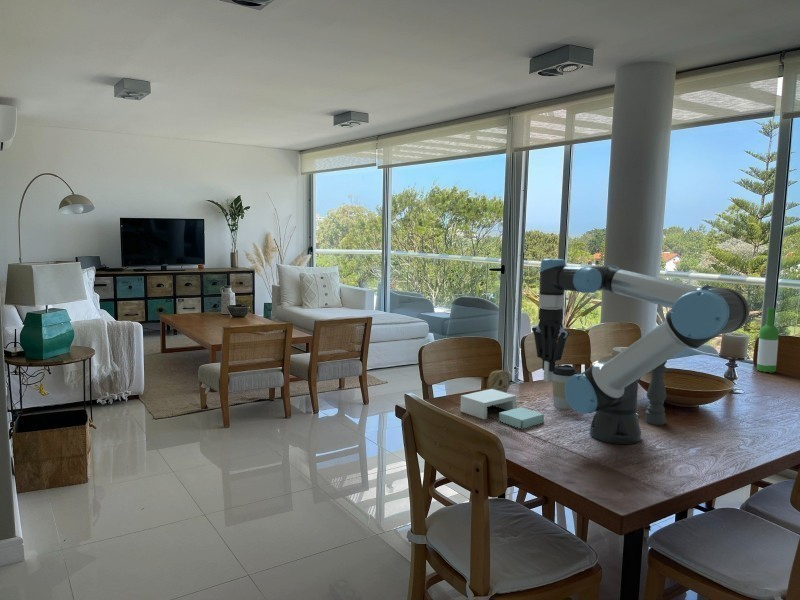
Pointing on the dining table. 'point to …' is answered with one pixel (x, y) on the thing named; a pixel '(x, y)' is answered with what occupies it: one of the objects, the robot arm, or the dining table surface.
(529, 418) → the mint green flat box
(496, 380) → the stone disc
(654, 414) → the candle holder
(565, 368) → the coffee cup
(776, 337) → the wine bottle
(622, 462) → the dining table surface
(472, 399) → the low shelf
